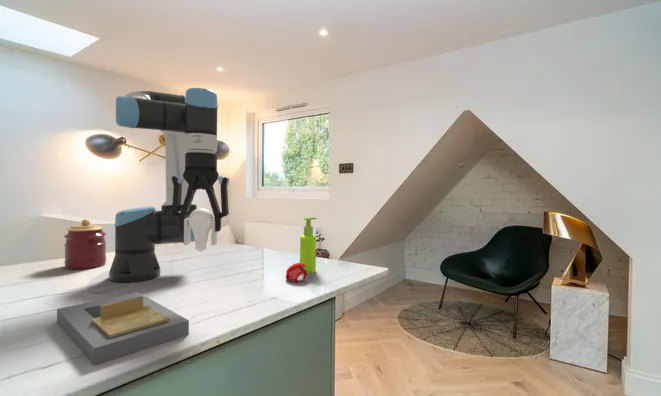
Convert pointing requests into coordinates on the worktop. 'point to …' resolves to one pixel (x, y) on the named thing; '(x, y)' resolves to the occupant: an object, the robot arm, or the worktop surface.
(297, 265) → the cap
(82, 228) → the canister
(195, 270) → the worktop surface
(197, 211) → the lightbulb
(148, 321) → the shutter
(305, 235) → the soap dispenser
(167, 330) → the socket block
